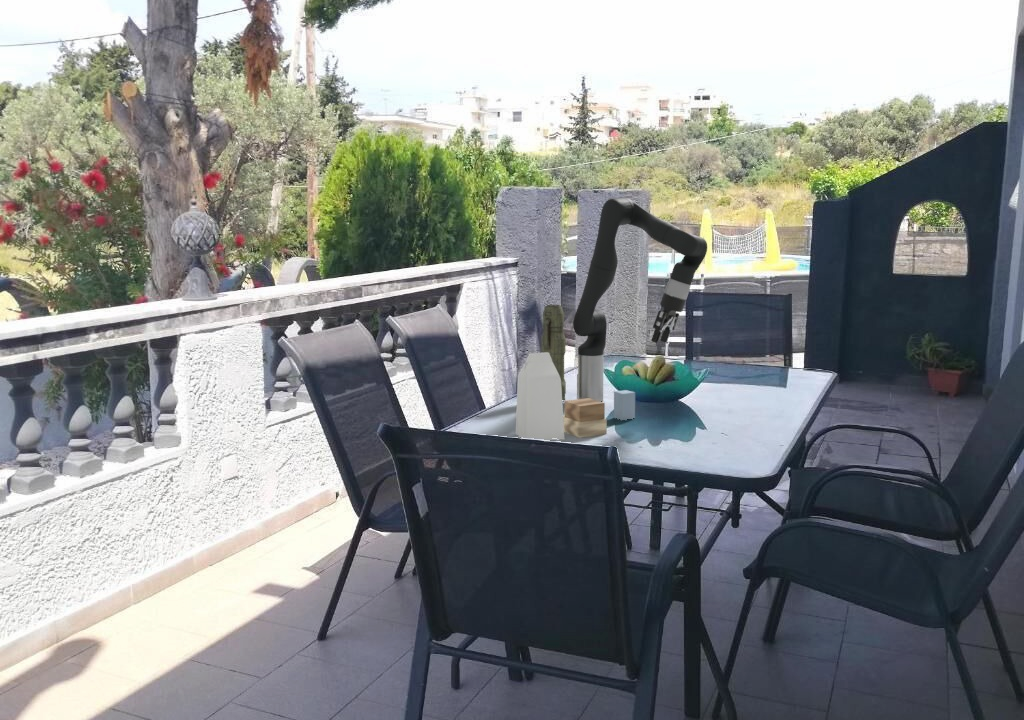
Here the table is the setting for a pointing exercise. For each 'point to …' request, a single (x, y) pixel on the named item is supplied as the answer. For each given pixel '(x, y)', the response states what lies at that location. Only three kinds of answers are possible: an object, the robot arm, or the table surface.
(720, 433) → the table surface
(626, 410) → the slate block
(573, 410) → the tower top block
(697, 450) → the table surface
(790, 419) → the table surface
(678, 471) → the table surface
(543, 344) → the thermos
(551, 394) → the milk
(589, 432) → the tower bottom block
